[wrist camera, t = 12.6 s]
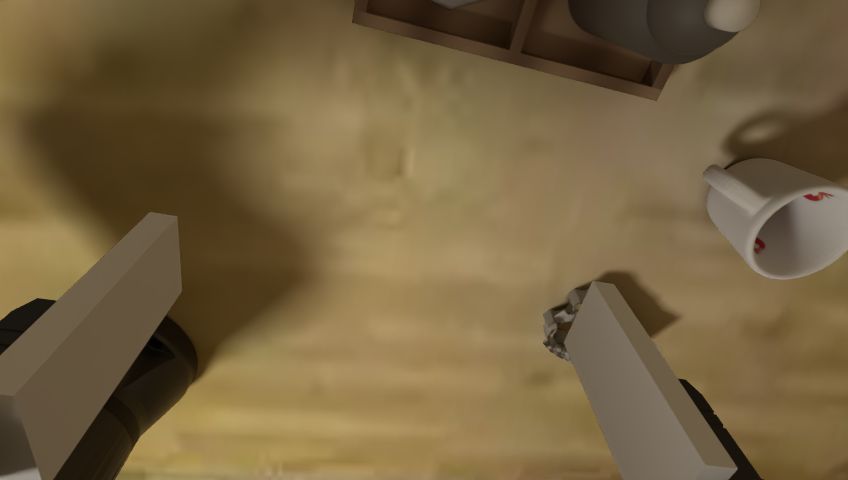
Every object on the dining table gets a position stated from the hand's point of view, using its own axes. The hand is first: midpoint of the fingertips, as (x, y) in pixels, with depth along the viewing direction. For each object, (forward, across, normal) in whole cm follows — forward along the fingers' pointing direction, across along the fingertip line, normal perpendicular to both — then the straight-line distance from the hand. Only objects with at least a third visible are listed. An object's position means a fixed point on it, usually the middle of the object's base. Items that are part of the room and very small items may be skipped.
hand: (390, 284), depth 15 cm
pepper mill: (+23, +13, +10) cm, 29 cm away
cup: (+24, +29, -1) cm, 38 cm away
